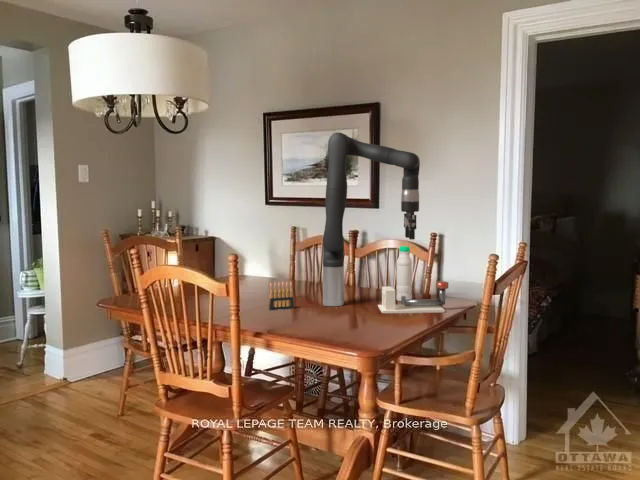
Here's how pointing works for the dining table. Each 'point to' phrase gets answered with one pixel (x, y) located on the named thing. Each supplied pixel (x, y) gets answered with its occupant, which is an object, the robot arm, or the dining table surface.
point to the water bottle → (404, 274)
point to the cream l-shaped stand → (391, 307)
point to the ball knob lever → (428, 302)
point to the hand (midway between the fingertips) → (409, 238)
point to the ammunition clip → (281, 297)
